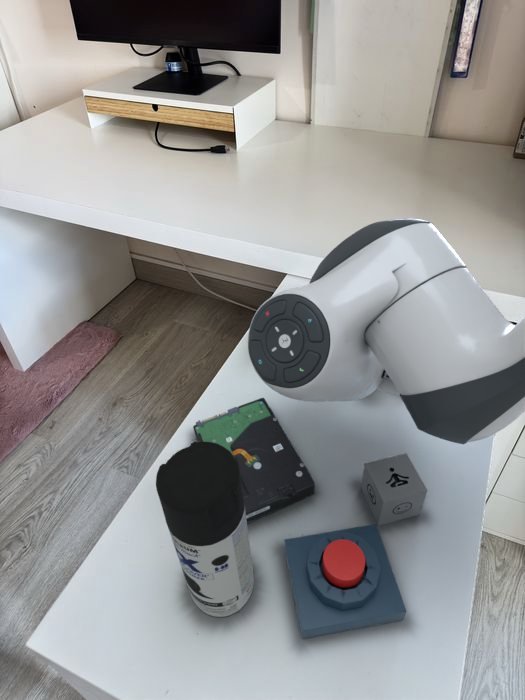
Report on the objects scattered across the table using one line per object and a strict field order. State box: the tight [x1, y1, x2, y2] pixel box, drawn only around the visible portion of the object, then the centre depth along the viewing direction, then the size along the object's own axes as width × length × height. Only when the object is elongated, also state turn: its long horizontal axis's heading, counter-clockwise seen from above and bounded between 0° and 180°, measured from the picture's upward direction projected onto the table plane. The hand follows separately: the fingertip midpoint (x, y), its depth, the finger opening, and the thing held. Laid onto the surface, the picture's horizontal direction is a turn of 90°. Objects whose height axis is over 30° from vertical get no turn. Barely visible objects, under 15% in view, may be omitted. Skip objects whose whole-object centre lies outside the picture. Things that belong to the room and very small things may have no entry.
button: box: [322, 540, 365, 588], centre depth 49 cm, size 4×4×2 cm
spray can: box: [155, 441, 255, 618], centre depth 45 cm, size 7×7×20 cm
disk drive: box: [192, 397, 316, 524], centre depth 62 cm, size 10×3×15 cm
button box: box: [283, 523, 407, 640], centre depth 50 cm, size 10×9×4 cm
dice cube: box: [360, 452, 428, 527], centre depth 57 cm, size 5×5×5 cm
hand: (370, 366), depth 64 cm, fingers open, 8 cm apart
